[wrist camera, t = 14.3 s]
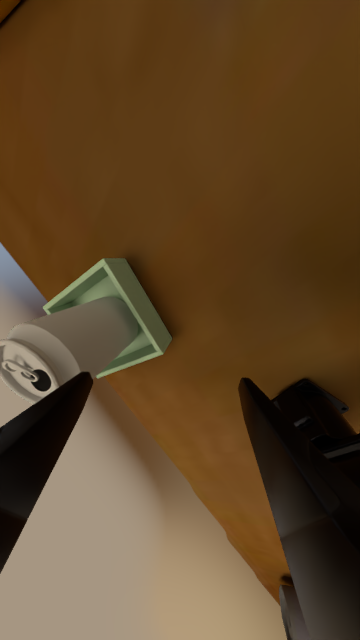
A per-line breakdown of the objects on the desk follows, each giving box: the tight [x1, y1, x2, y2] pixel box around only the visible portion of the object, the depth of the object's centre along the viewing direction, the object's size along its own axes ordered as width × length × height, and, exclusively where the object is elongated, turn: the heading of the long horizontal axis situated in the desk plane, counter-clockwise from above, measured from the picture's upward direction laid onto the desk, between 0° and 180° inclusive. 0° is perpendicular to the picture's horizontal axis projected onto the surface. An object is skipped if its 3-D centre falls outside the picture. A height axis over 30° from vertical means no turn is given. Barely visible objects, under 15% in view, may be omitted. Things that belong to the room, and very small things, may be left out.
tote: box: [43, 258, 172, 378], centre depth 21 cm, size 12×12×4 cm
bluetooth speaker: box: [279, 585, 310, 640], centre depth 34 cm, size 23×9×10 cm, turn 95°
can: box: [0, 297, 138, 404], centre depth 17 cm, size 8×8×12 cm
